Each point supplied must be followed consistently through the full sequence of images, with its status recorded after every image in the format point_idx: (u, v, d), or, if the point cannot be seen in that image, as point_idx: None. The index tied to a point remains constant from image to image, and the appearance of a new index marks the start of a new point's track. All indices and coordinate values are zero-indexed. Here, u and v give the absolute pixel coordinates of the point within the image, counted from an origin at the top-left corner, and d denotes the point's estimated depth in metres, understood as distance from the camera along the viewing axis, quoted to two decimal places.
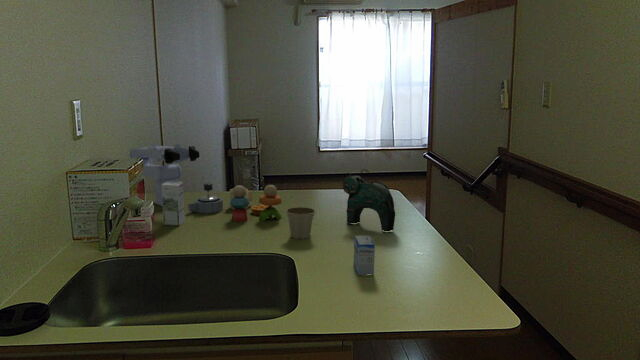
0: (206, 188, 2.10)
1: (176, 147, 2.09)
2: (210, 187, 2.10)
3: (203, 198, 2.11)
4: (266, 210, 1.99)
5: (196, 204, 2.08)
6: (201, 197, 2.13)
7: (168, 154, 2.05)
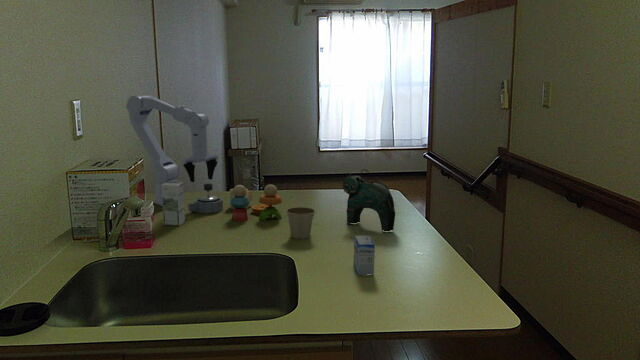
0: (206, 188, 2.10)
1: (202, 159, 2.11)
2: (210, 187, 2.10)
3: (203, 198, 2.11)
4: (266, 210, 1.99)
5: (196, 204, 2.08)
6: (201, 197, 2.13)
7: None
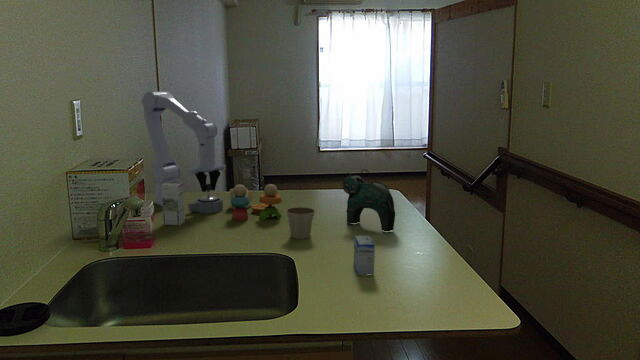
0: (206, 188, 2.10)
1: (209, 170, 2.07)
2: (210, 187, 2.10)
3: (203, 198, 2.11)
4: (266, 209, 2.00)
5: (196, 204, 2.08)
6: (201, 197, 2.13)
7: None
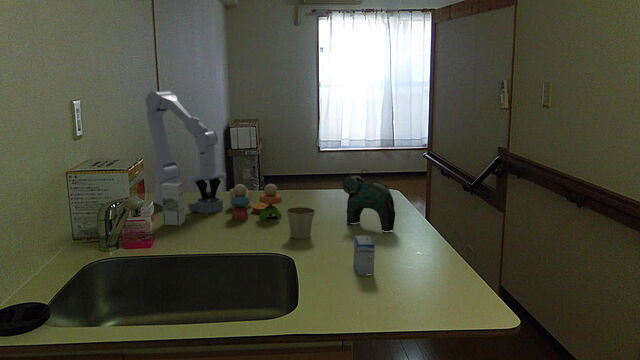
0: (206, 196, 2.10)
1: (210, 178, 2.08)
2: (210, 195, 2.11)
3: None
4: (266, 209, 2.01)
5: (196, 204, 2.08)
6: None
7: None
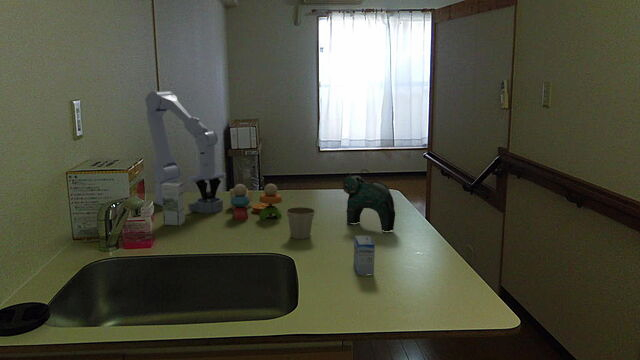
0: None
1: (210, 178, 2.08)
2: (210, 195, 2.11)
3: None
4: (266, 209, 2.01)
5: (196, 204, 2.08)
6: None
7: None
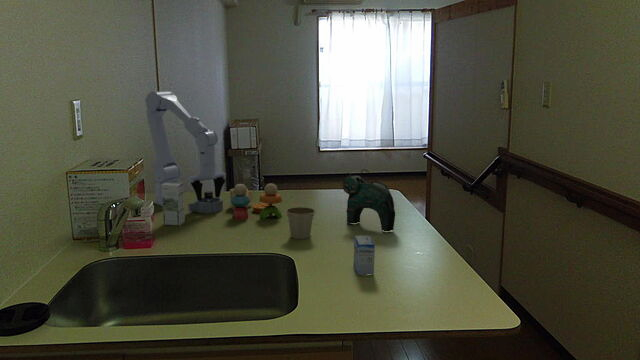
0: (206, 196, 2.10)
1: (210, 178, 2.08)
2: (210, 195, 2.11)
3: None
4: (266, 208, 2.01)
5: (196, 204, 2.08)
6: None
7: None
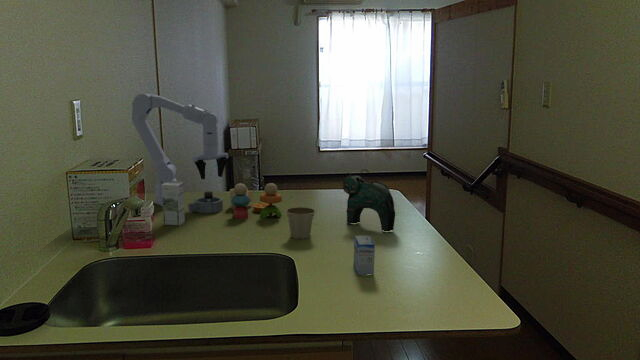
0: (206, 196, 2.10)
1: (213, 157, 2.17)
2: (210, 195, 2.11)
3: None
4: (266, 208, 2.02)
5: (196, 204, 2.08)
6: None
7: None
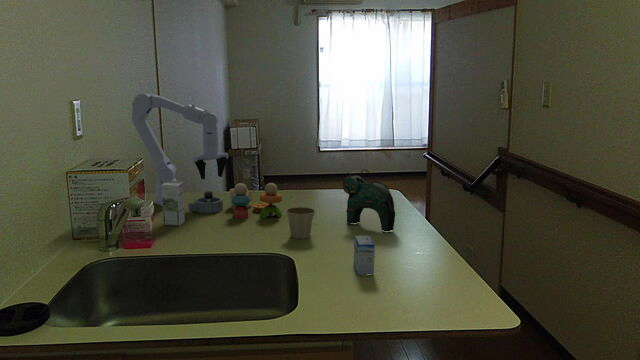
0: (206, 196, 2.10)
1: (213, 157, 2.17)
2: (210, 195, 2.11)
3: None
4: (267, 208, 2.02)
5: (196, 204, 2.08)
6: None
7: None
